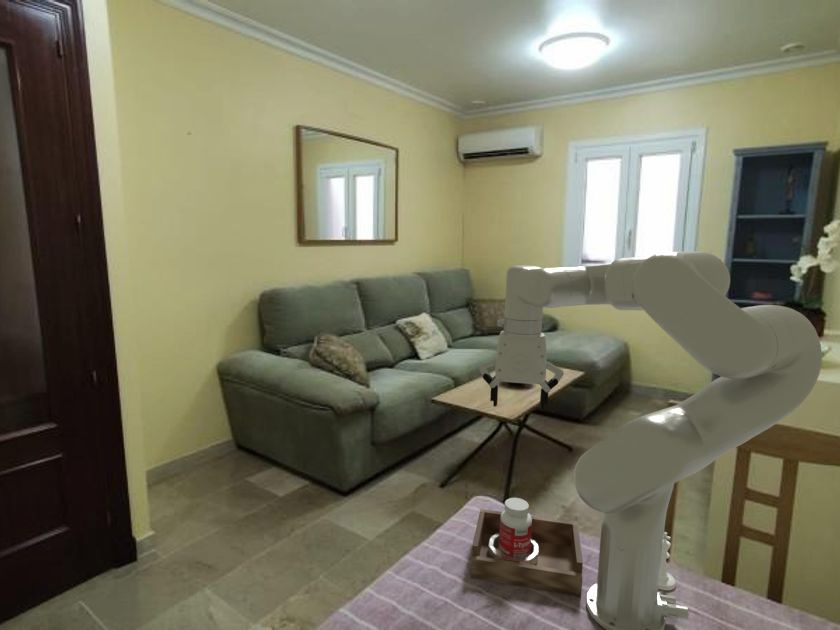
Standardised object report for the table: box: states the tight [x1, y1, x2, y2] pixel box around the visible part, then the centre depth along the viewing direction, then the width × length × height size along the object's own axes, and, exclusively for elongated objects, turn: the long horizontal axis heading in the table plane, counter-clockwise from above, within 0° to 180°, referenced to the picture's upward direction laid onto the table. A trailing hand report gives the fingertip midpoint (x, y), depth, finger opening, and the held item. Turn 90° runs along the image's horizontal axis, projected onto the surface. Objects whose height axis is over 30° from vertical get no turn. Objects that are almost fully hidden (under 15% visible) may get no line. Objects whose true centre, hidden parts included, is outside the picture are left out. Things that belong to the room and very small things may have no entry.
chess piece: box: [658, 531, 676, 591], centre depth 91 cm, size 5×5×10 cm
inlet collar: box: [489, 532, 538, 565], centre depth 97 cm, size 10×10×2 cm
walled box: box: [470, 508, 584, 598], centre depth 96 cm, size 20×14×6 cm
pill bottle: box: [499, 497, 532, 559], centre depth 97 cm, size 6×6×11 cm
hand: (518, 406), depth 102 cm, fingers open, 9 cm apart
